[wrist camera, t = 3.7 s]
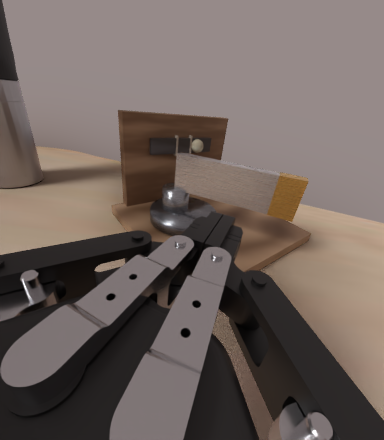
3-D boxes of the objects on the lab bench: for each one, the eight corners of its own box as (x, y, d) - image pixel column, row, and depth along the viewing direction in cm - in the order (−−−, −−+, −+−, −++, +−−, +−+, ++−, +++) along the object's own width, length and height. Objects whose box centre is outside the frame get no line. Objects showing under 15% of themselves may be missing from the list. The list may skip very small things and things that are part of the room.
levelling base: (112, 213, 35) (102, 108, 27) (216, 191, 48) (229, 118, 41) (190, 311, 20) (217, 147, 13) (307, 241, 34) (355, 141, 26)
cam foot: (136, 223, 29) (134, 153, 25) (169, 199, 38) (173, 143, 33) (278, 272, 24) (311, 194, 19) (281, 231, 32) (305, 169, 27)
